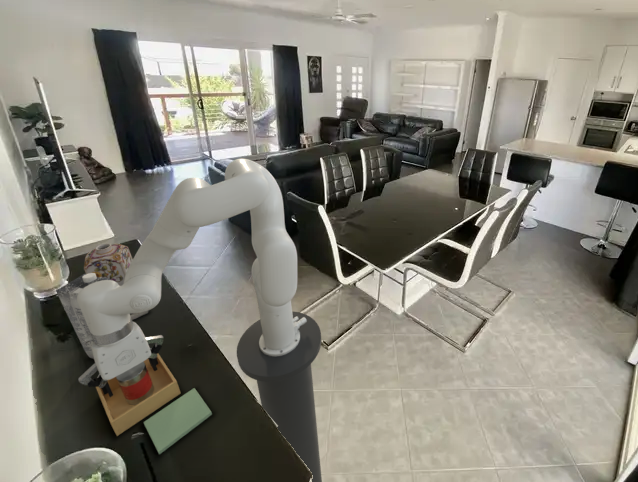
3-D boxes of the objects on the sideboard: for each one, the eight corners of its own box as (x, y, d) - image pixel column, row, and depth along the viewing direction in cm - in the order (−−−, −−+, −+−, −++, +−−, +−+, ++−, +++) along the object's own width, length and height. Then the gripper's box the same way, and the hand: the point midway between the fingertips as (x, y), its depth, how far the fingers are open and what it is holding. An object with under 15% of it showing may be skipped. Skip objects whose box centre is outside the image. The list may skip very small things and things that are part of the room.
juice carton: (113, 367, 93) (80, 292, 82) (84, 360, 95) (47, 287, 84) (139, 342, 101) (112, 272, 90) (112, 337, 103) (82, 267, 92)
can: (149, 379, 89) (140, 355, 85) (157, 392, 85) (148, 369, 82) (123, 395, 85) (112, 371, 81) (130, 410, 81) (119, 385, 78)
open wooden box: (161, 363, 95) (157, 351, 93) (180, 393, 86) (176, 381, 84) (101, 398, 85) (95, 386, 83) (117, 436, 76) (110, 423, 74)
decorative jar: (104, 280, 129) (88, 242, 122) (138, 273, 134) (125, 236, 126) (94, 299, 119) (77, 258, 112) (132, 290, 124) (118, 251, 117)
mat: (195, 390, 87) (194, 387, 87) (212, 414, 81) (211, 411, 81) (144, 424, 79) (143, 422, 78) (159, 454, 73) (158, 452, 72)
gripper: (68, 361, 68) (94, 414, 74) (160, 317, 80) (175, 366, 87) (61, 342, 72) (86, 394, 79) (149, 303, 84) (164, 351, 91)
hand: (133, 379), depth 83 cm, fingers open, 9 cm apart
